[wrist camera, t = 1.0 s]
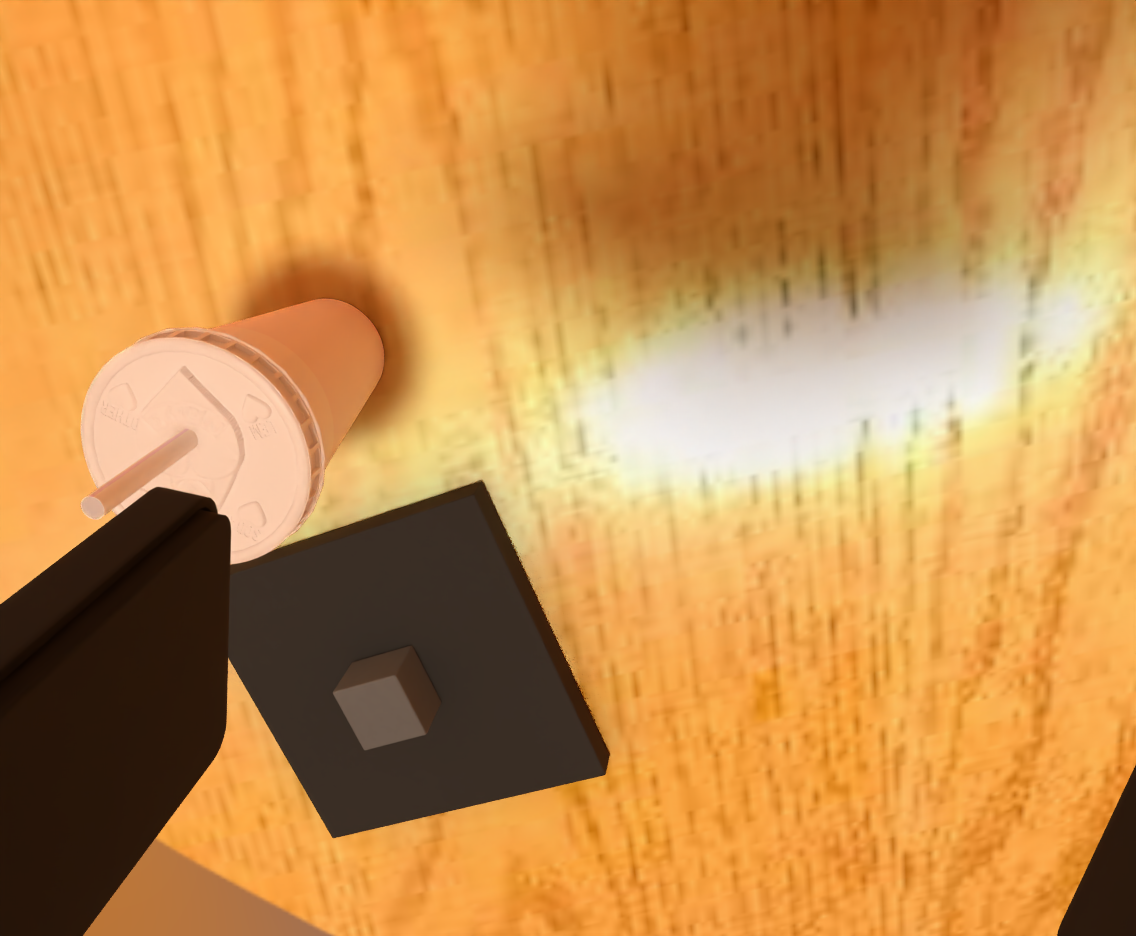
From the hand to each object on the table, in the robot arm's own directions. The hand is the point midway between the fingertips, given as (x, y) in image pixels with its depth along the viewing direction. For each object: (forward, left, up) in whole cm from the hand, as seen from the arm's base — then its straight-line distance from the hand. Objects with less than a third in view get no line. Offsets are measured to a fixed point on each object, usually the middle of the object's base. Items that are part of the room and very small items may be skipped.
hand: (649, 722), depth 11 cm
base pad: (+16, +10, -24) cm, 31 cm away
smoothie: (+13, -2, -24) cm, 28 cm away
